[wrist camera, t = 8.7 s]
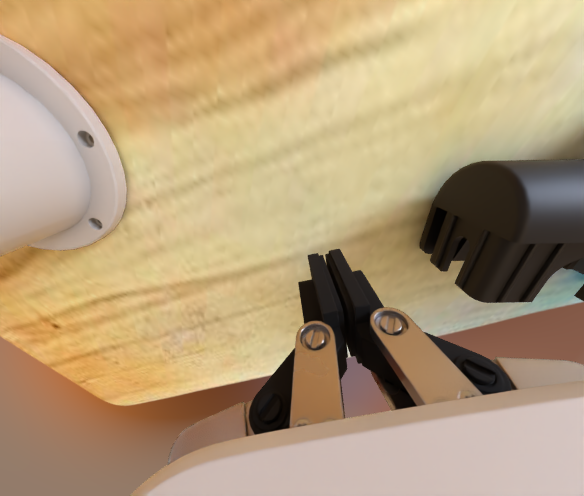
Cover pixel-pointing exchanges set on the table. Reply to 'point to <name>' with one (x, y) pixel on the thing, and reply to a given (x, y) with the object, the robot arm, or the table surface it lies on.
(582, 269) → the box
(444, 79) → the table surface
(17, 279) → the table surface
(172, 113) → the table surface
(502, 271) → the end cap
